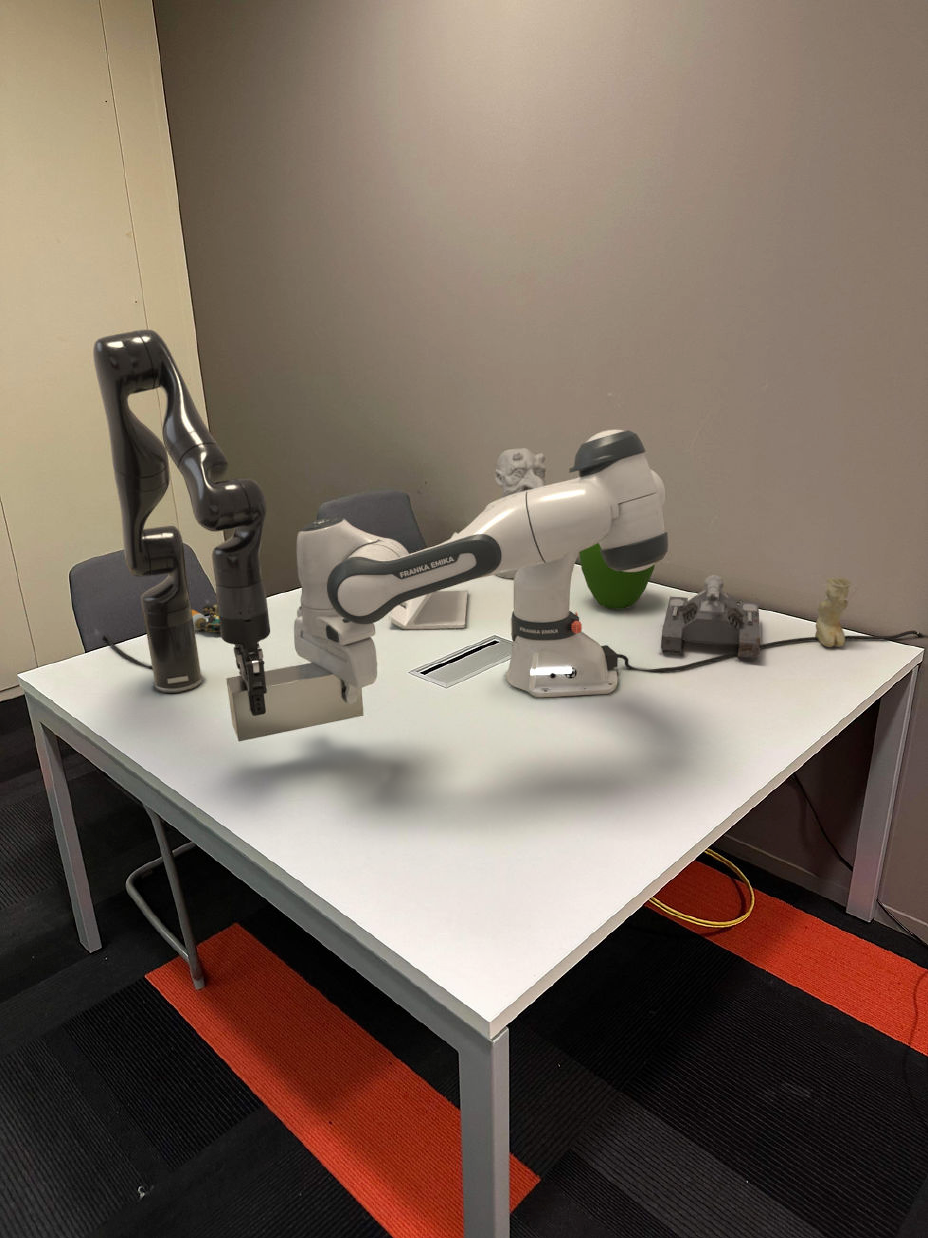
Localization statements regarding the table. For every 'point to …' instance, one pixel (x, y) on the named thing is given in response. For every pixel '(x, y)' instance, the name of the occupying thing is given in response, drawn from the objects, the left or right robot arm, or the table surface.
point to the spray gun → (213, 620)
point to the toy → (712, 621)
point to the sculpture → (832, 613)
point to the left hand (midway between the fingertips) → (254, 705)
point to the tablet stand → (432, 610)
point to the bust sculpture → (519, 476)
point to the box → (291, 701)
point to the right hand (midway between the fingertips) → (336, 694)
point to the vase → (612, 580)
